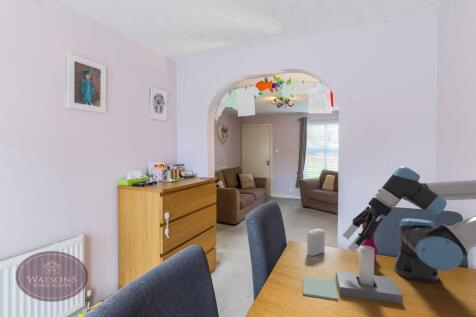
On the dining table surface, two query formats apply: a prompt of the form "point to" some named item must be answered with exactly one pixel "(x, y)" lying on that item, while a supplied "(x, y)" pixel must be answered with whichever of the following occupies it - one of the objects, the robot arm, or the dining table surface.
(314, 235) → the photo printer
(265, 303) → the dining table surface
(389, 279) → the grey holed plate
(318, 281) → the pad
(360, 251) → the plug
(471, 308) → the dining table surface
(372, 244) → the pink bowling pin
